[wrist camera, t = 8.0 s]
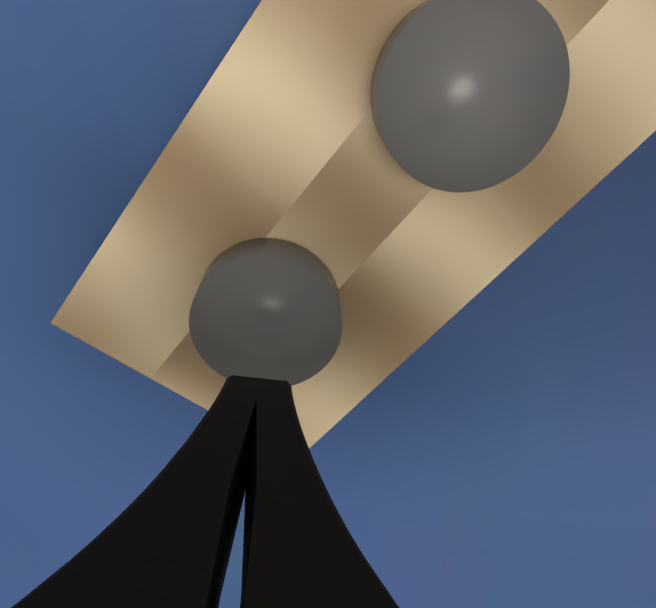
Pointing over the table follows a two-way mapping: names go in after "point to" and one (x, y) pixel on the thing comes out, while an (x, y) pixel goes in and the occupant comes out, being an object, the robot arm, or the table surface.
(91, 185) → the table surface
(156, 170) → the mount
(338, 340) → the plunger
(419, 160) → the plunger
